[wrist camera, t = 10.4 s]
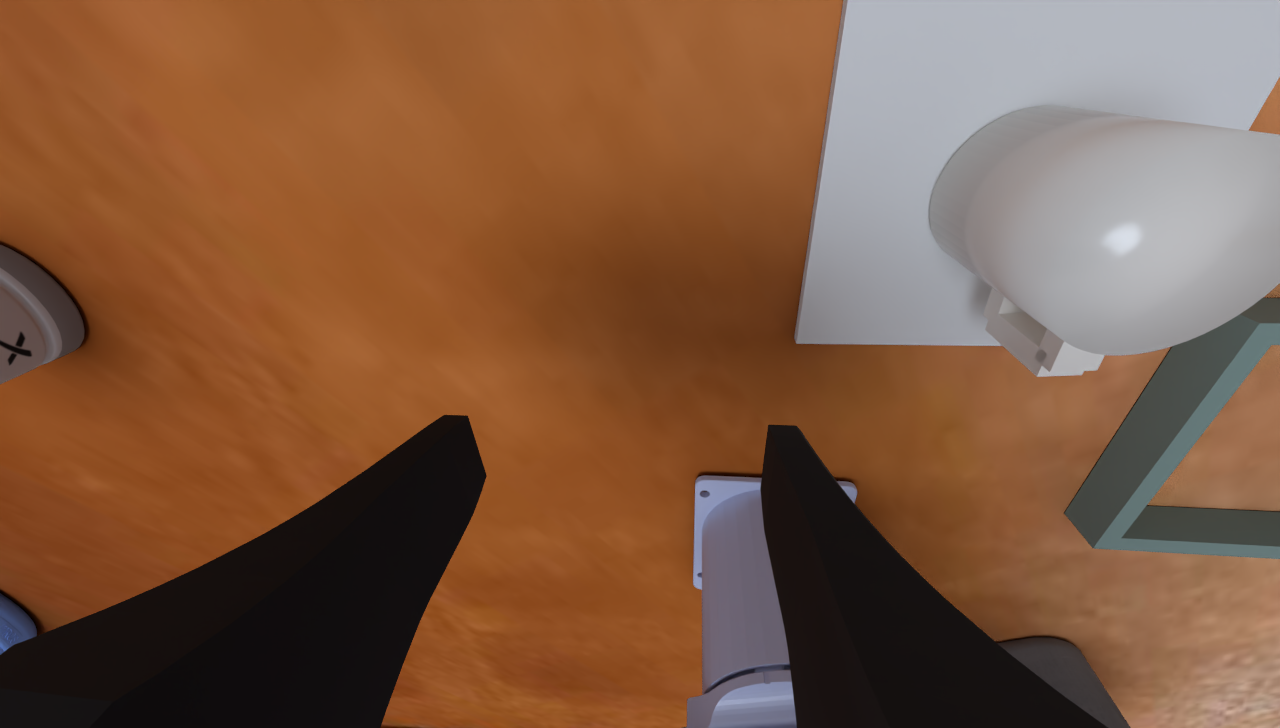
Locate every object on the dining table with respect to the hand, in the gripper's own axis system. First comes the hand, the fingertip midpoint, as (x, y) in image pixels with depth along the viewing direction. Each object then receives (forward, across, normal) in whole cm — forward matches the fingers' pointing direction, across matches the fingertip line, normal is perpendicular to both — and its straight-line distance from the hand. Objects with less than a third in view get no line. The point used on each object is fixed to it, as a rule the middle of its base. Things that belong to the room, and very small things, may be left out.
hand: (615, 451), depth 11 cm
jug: (+9, -12, -4) cm, 15 cm away
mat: (+9, -12, -4) cm, 16 cm away
